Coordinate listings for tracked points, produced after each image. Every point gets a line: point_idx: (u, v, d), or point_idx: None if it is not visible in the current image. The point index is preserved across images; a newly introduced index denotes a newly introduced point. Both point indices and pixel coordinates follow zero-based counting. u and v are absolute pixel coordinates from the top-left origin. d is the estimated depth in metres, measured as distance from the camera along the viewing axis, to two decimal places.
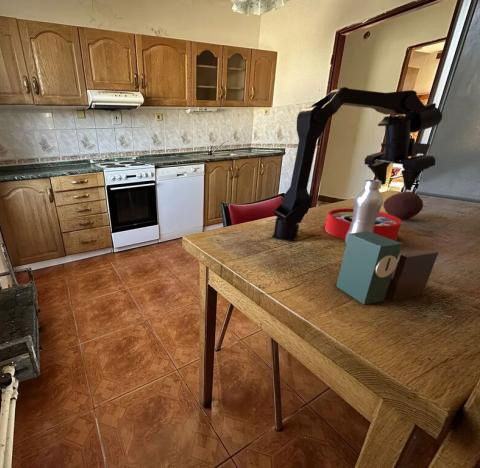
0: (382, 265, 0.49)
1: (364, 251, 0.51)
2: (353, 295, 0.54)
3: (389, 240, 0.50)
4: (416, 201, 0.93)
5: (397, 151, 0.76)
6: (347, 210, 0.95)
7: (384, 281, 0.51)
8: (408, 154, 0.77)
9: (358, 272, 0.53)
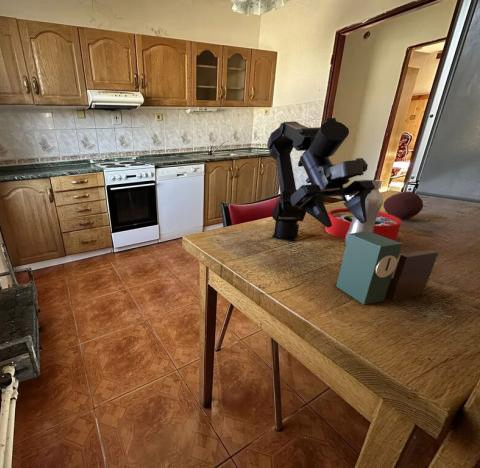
0: (382, 265, 0.49)
1: (364, 251, 0.51)
2: (353, 295, 0.54)
3: (389, 240, 0.50)
4: (416, 201, 0.93)
5: None
6: (347, 210, 0.95)
7: (384, 281, 0.51)
8: (322, 184, 0.60)
9: (358, 272, 0.53)
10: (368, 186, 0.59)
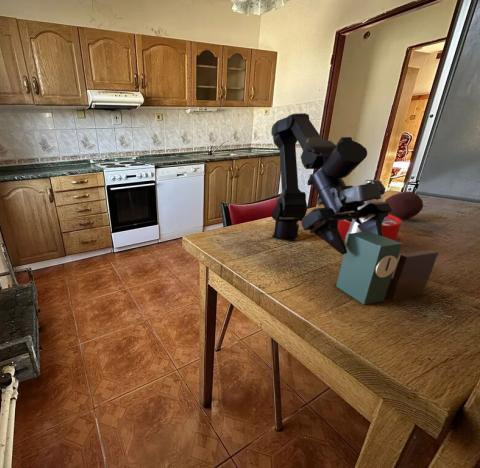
0: (382, 265, 0.49)
1: (364, 251, 0.51)
2: (353, 295, 0.54)
3: (389, 240, 0.50)
4: (416, 201, 0.93)
5: None
6: None
7: (384, 281, 0.51)
8: (336, 207, 0.56)
9: (358, 272, 0.53)
10: (385, 209, 0.56)
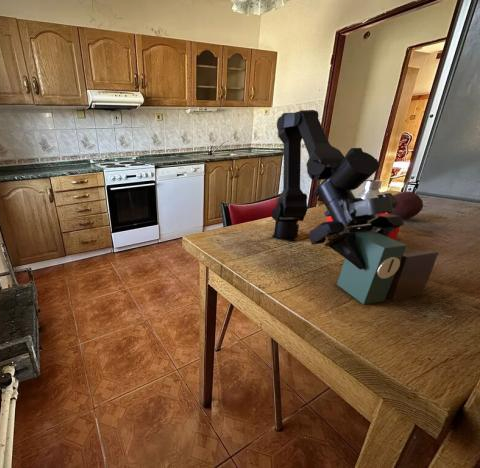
0: (384, 266, 0.48)
1: (367, 252, 0.50)
2: (353, 294, 0.54)
3: (393, 242, 0.49)
4: (416, 201, 0.93)
5: (333, 220, 0.58)
6: None
7: (386, 282, 0.51)
8: (345, 220, 0.54)
9: (359, 272, 0.52)
10: (396, 223, 0.53)
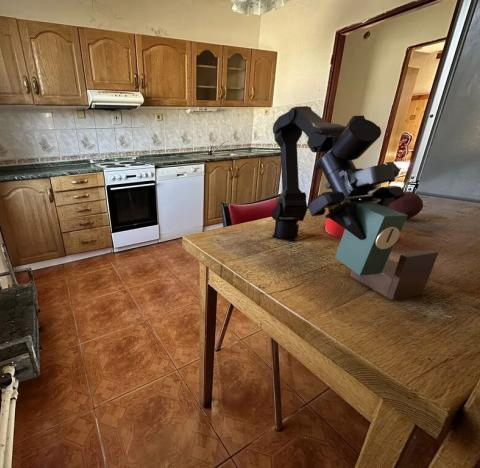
0: (383, 236, 0.48)
1: (367, 222, 0.50)
2: (350, 266, 0.54)
3: (394, 212, 0.48)
4: (416, 201, 0.93)
5: None
6: None
7: (384, 254, 0.50)
8: (346, 191, 0.53)
9: (358, 243, 0.52)
10: (397, 193, 0.52)
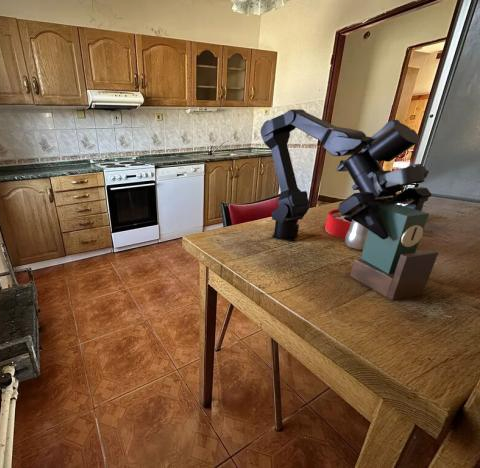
0: (408, 235, 0.51)
1: (390, 222, 0.53)
2: (378, 265, 0.56)
3: (416, 211, 0.51)
4: None
5: None
6: None
7: (410, 251, 0.53)
8: (375, 192, 0.56)
9: (383, 243, 0.55)
10: (424, 194, 0.55)
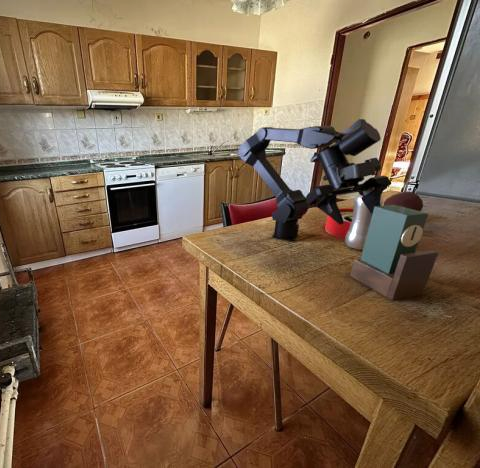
0: (408, 234, 0.51)
1: (390, 222, 0.53)
2: (378, 266, 0.56)
3: (415, 211, 0.52)
4: (416, 201, 0.93)
5: (329, 183, 0.68)
6: (347, 210, 0.95)
7: (409, 251, 0.53)
8: (337, 183, 0.64)
9: (383, 243, 0.55)
10: (384, 183, 0.62)
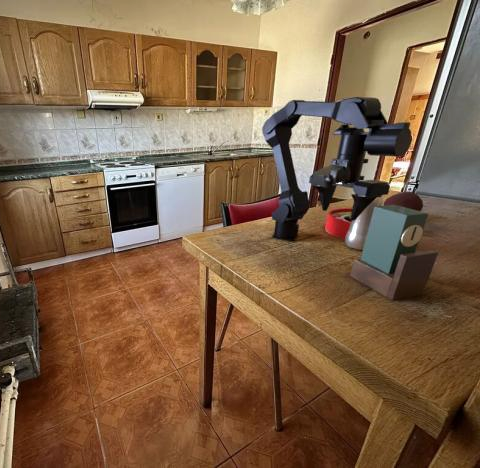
0: (408, 234, 0.51)
1: (390, 222, 0.53)
2: (378, 266, 0.56)
3: (415, 211, 0.52)
4: (416, 201, 0.93)
5: None
6: (347, 210, 0.95)
7: (409, 251, 0.53)
8: None
9: (383, 243, 0.55)
10: (358, 193, 0.59)
